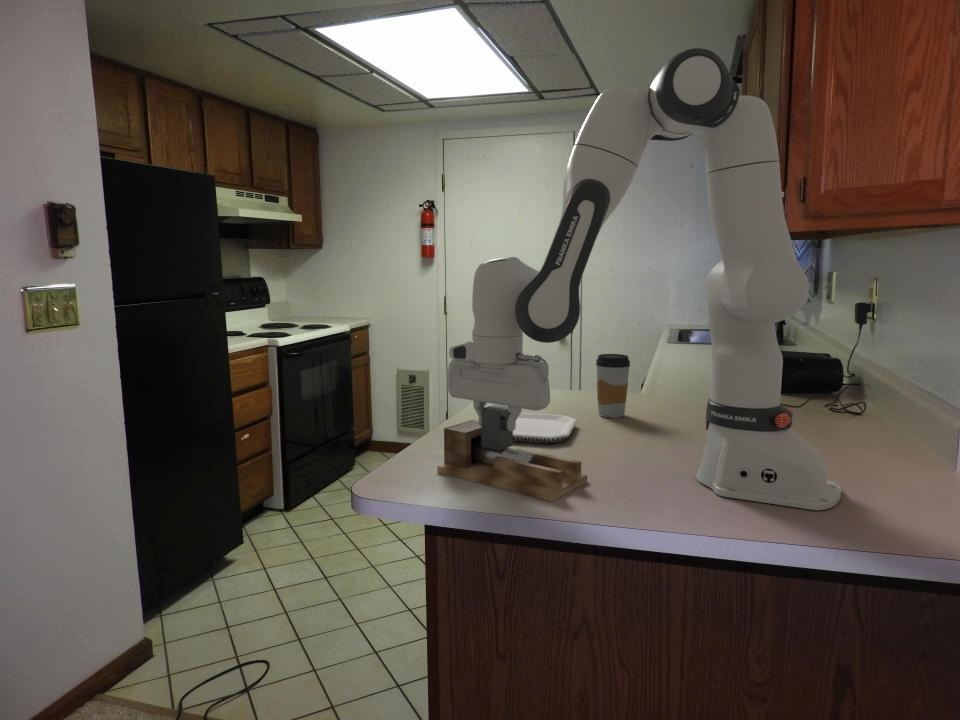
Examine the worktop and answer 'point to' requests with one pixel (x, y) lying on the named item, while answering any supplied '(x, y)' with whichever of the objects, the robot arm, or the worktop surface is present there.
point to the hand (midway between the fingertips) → (496, 427)
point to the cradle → (508, 467)
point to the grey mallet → (496, 439)
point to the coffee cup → (612, 384)
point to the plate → (542, 428)
